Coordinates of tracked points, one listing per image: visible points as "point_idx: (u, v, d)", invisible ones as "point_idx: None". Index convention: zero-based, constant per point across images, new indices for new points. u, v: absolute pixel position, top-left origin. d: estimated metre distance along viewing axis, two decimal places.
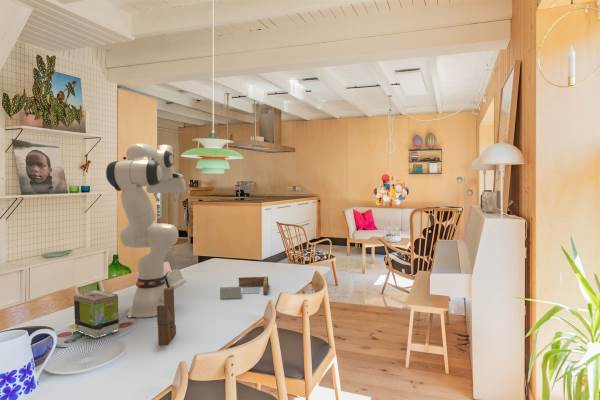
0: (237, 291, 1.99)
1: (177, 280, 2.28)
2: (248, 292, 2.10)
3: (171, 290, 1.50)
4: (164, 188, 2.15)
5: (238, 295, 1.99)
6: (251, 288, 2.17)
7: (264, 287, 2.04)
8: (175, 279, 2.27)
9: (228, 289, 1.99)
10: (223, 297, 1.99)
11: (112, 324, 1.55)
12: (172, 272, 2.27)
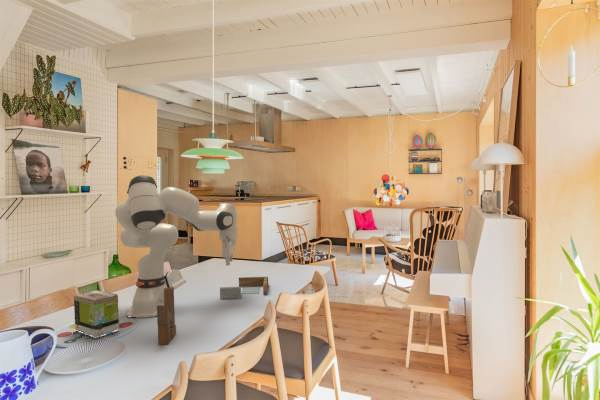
0: (237, 291, 1.99)
1: (177, 280, 2.28)
2: (248, 292, 2.10)
3: (171, 290, 1.50)
4: (232, 249, 1.99)
5: (238, 295, 1.99)
6: (251, 288, 2.17)
7: (264, 287, 2.04)
8: (175, 279, 2.27)
9: (228, 289, 1.99)
10: (223, 297, 1.99)
11: (112, 324, 1.55)
12: (172, 272, 2.26)
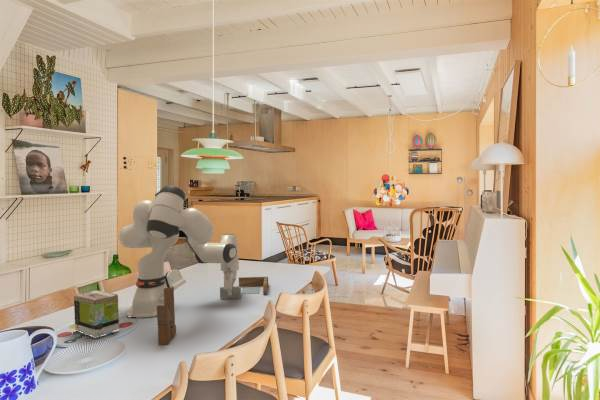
0: (237, 291, 1.99)
1: (177, 280, 2.28)
2: (248, 292, 2.10)
3: (171, 290, 1.50)
4: (233, 279, 1.99)
5: (238, 295, 1.99)
6: (251, 288, 2.17)
7: (264, 287, 2.04)
8: (175, 279, 2.27)
9: None
10: (223, 297, 1.99)
11: (112, 324, 1.55)
12: (172, 272, 2.26)
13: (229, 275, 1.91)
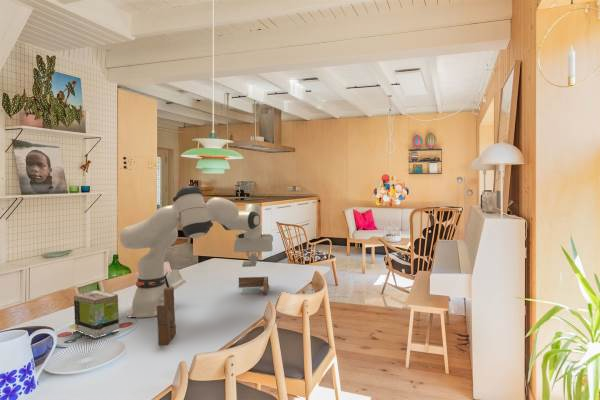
0: None
1: (176, 280, 2.28)
2: (248, 292, 2.10)
3: (171, 290, 1.50)
4: None
5: (256, 260, 2.17)
6: (251, 288, 2.17)
7: (264, 287, 2.04)
8: (175, 279, 2.26)
9: (255, 255, 2.12)
10: (255, 263, 2.10)
11: (112, 324, 1.55)
12: (172, 272, 2.26)
13: None
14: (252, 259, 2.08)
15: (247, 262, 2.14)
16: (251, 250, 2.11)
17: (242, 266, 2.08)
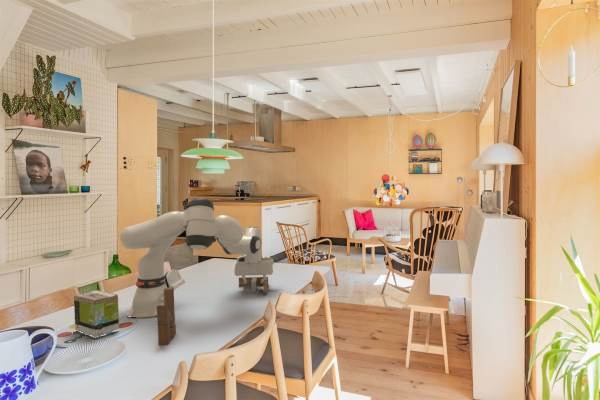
0: None
1: (176, 280, 2.28)
2: None
3: (171, 290, 1.50)
4: None
5: None
6: None
7: (264, 287, 2.04)
8: (174, 279, 2.26)
9: (256, 281, 2.13)
10: (256, 289, 2.11)
11: (112, 324, 1.55)
12: (171, 273, 2.26)
13: None
14: (253, 285, 2.09)
15: (248, 287, 2.15)
16: (251, 274, 2.12)
17: (243, 292, 2.09)
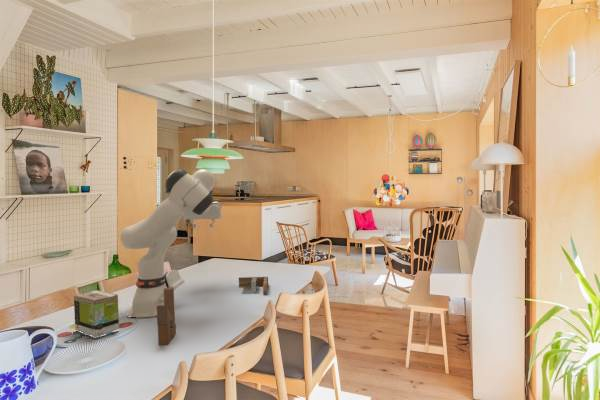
0: None
1: (176, 280, 2.28)
2: None
3: (171, 290, 1.50)
4: None
5: None
6: None
7: (264, 287, 2.04)
8: (174, 279, 2.26)
9: (256, 281, 2.13)
10: (256, 289, 2.11)
11: (112, 324, 1.55)
12: (171, 273, 2.26)
13: None
14: (253, 285, 2.09)
15: (248, 287, 2.15)
16: (200, 217, 2.20)
17: (243, 292, 2.09)
